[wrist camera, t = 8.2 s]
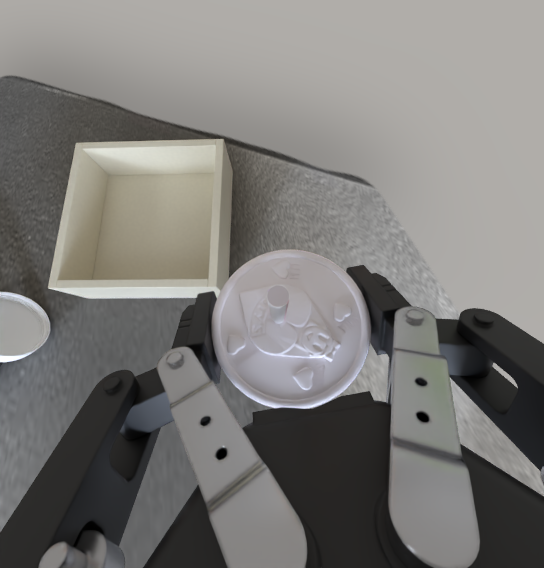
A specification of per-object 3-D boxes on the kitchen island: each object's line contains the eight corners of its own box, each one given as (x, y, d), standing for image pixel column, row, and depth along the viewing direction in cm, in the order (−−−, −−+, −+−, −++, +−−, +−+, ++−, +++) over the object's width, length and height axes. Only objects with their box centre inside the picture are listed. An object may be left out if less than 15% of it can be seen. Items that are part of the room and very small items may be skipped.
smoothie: (270, 278, 21) (255, 148, 7) (344, 321, 20) (482, 263, 6) (225, 350, 20) (106, 355, 6) (301, 399, 19) (359, 532, 5)
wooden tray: (87, 298, 30) (47, 288, 25) (107, 174, 33) (75, 142, 28) (228, 297, 29) (216, 287, 24) (232, 171, 33) (223, 138, 28)
